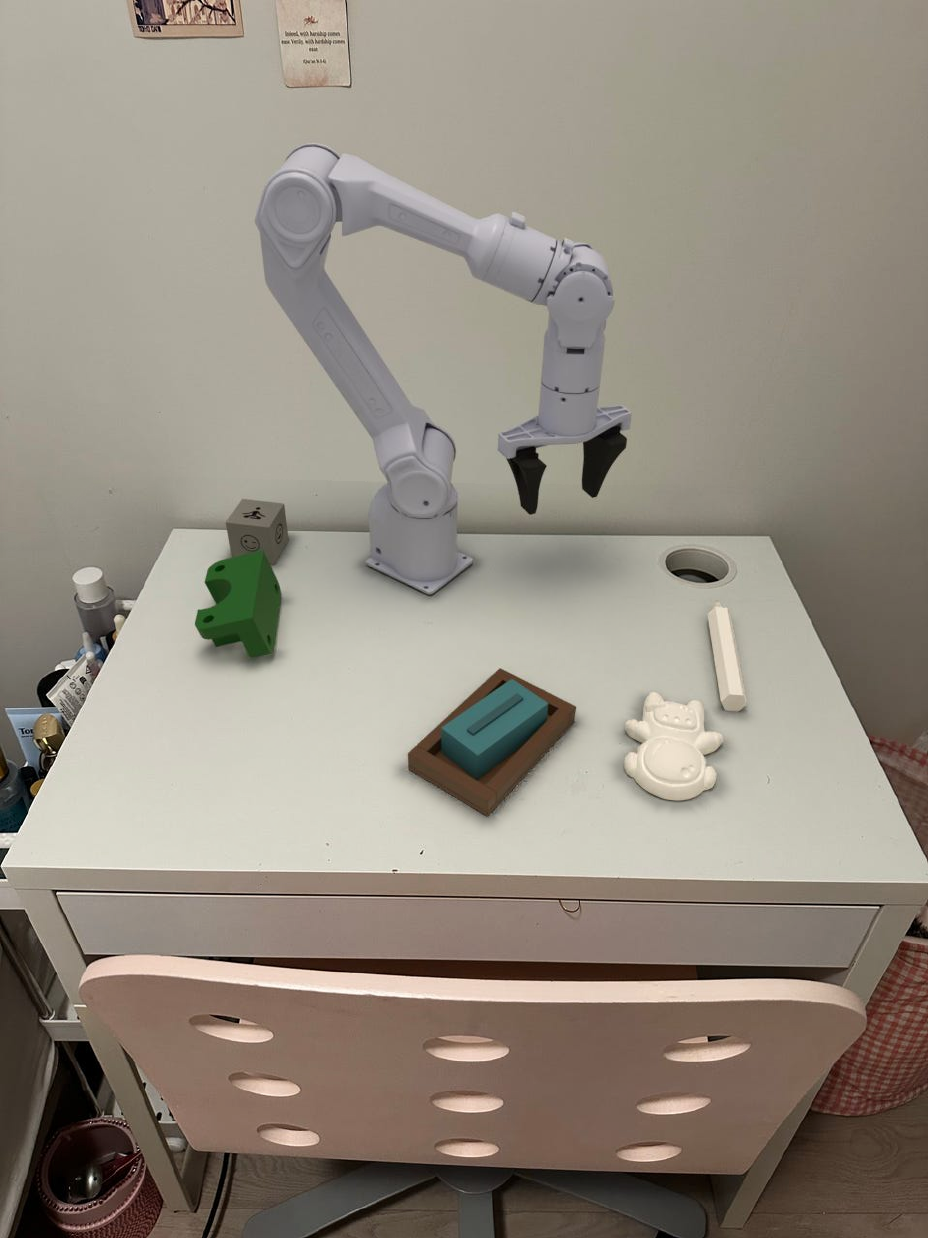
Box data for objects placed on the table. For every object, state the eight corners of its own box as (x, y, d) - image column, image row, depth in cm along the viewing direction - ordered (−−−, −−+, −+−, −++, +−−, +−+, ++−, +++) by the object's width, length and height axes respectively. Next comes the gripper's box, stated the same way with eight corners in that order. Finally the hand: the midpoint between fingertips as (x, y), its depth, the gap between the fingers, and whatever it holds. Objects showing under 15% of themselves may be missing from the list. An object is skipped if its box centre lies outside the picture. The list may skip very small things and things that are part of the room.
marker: (715, 612, 101) (734, 715, 88) (699, 603, 100) (716, 705, 88) (731, 596, 99) (753, 699, 87) (716, 586, 99) (735, 689, 86)
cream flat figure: (726, 716, 87) (733, 693, 85) (709, 812, 78) (716, 788, 77) (634, 694, 89) (638, 671, 87) (608, 785, 81) (612, 761, 79)
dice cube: (232, 559, 106) (225, 522, 102) (248, 534, 109) (242, 498, 106) (274, 564, 105) (268, 527, 102) (288, 539, 109) (284, 503, 106)
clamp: (239, 638, 102) (213, 559, 99) (292, 625, 101) (267, 546, 99) (208, 676, 90) (177, 588, 88) (266, 663, 90) (237, 573, 87)
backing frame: (487, 817, 78) (488, 800, 76) (408, 769, 82) (407, 753, 80) (574, 722, 86) (576, 706, 85) (499, 683, 90) (499, 667, 89)
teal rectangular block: (476, 780, 80) (477, 753, 78) (440, 752, 82) (440, 725, 80) (546, 728, 85) (549, 700, 83) (510, 703, 87) (511, 675, 85)
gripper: (610, 352, 95) (596, 468, 104) (485, 378, 90) (481, 498, 99) (650, 379, 90) (632, 499, 99) (520, 408, 85) (513, 532, 94)
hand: (559, 501), depth 99 cm, fingers open, 7 cm apart
